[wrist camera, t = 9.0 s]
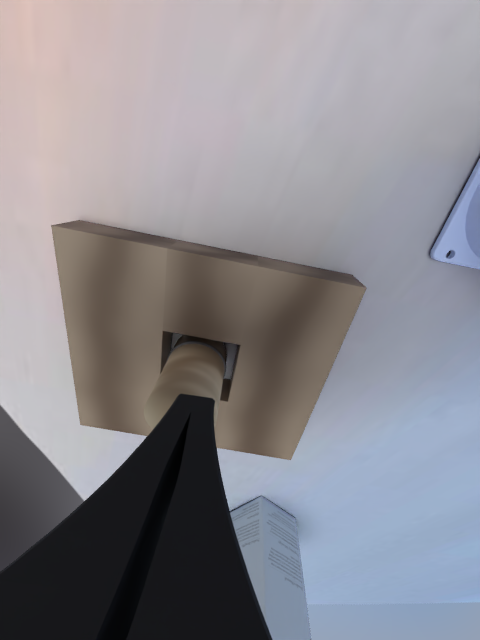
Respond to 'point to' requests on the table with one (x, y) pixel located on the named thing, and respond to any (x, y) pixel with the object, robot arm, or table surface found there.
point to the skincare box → (274, 566)
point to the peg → (188, 376)
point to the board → (199, 329)
